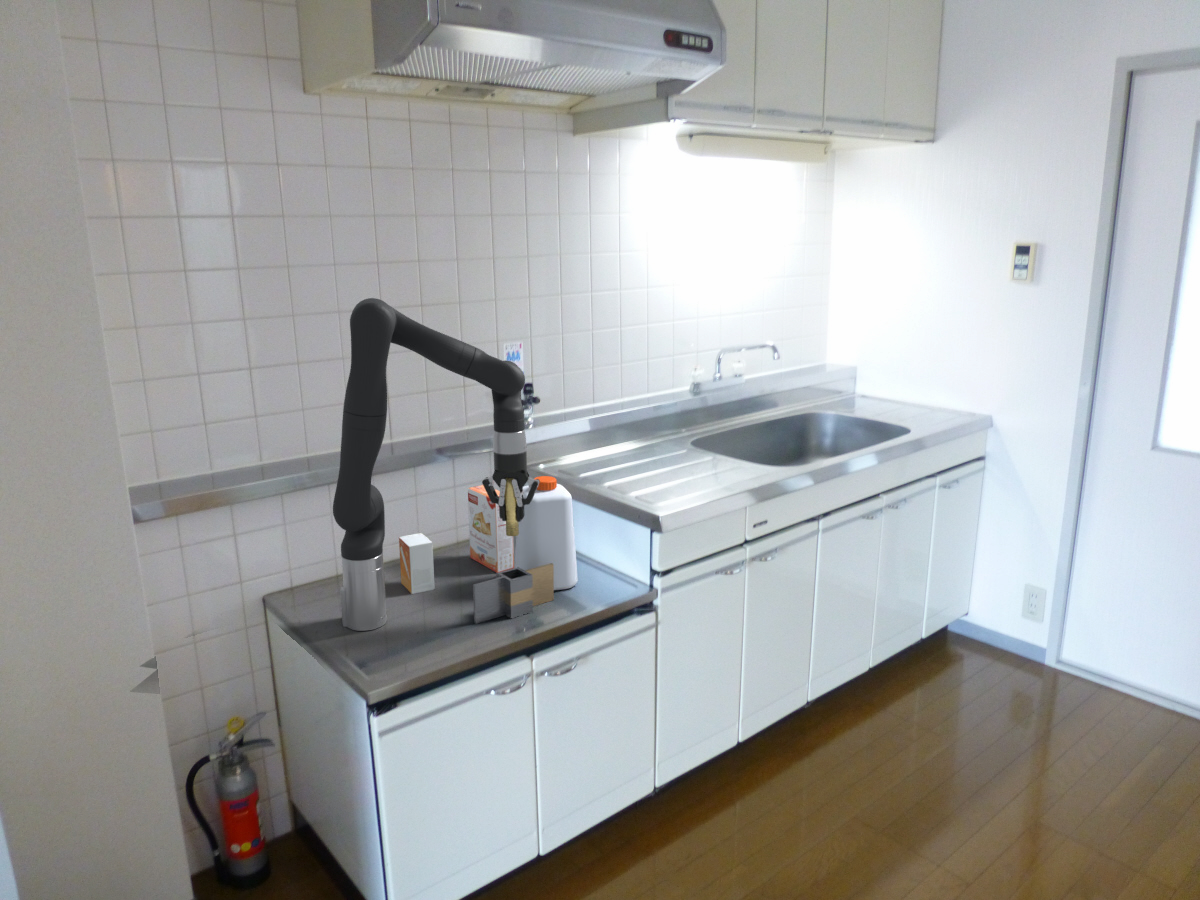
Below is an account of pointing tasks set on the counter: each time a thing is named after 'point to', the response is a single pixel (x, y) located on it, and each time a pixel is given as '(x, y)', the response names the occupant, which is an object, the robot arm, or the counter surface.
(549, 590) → the hinge
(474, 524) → the cracker box
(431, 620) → the counter surface
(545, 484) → the plastic bottle
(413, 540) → the small box
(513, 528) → the hinge pin
